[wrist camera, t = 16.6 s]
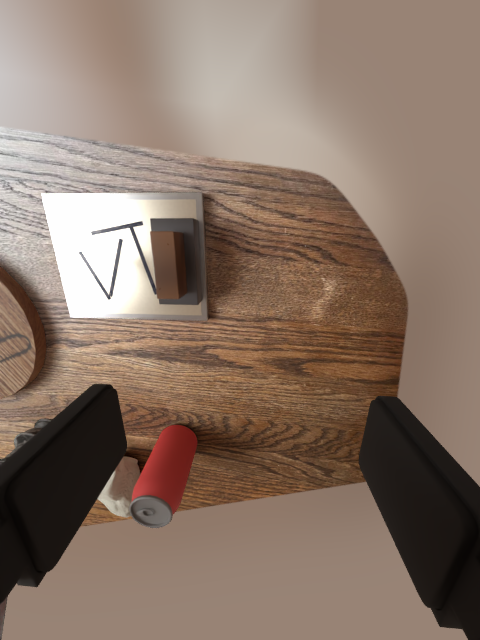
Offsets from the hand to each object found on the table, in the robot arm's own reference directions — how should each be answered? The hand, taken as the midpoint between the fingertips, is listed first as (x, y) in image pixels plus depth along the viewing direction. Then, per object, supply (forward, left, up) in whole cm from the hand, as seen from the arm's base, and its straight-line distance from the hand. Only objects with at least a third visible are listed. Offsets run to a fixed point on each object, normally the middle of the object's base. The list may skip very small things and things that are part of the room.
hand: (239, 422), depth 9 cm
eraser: (+9, -4, -23) cm, 25 cm away
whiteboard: (+16, -4, -24) cm, 29 cm away
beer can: (+12, +26, -24) cm, 38 cm away
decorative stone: (+24, +34, -24) cm, 48 cm away
